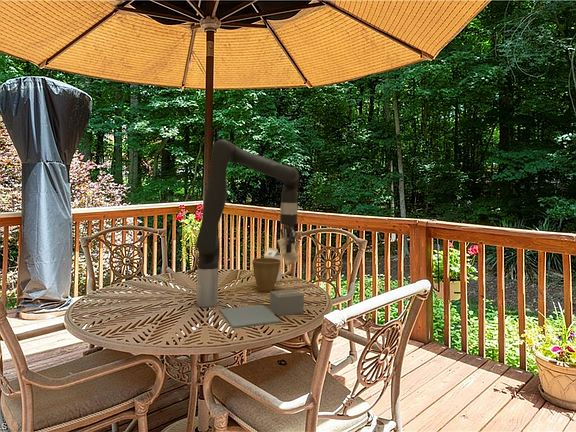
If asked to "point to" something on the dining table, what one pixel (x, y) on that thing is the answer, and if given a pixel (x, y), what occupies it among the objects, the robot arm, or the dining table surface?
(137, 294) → the dining table surface
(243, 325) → the mat
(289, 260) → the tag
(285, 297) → the grey rectangular block
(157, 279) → the dining table surface
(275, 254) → the milk carton
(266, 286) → the plant pot
